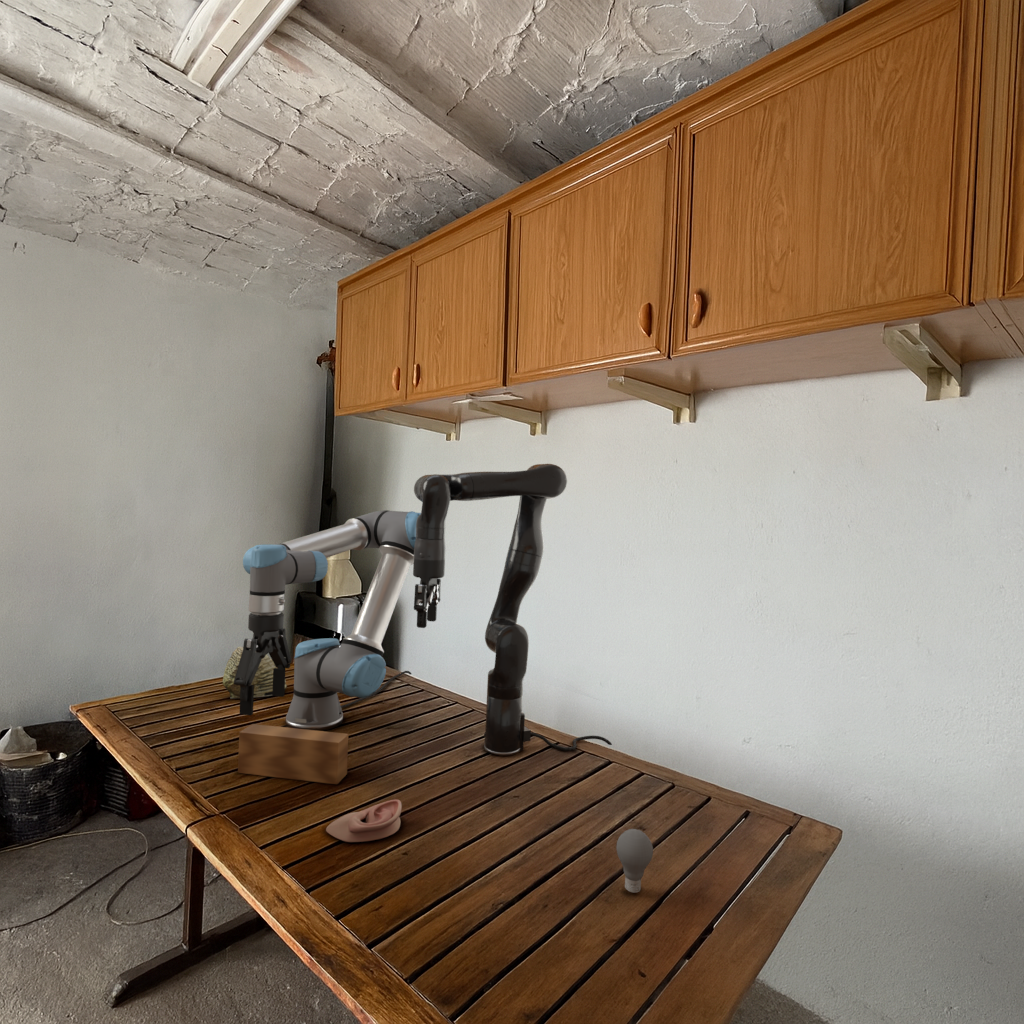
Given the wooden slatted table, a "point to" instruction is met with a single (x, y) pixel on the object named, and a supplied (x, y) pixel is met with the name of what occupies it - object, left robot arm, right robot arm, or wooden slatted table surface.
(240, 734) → the bar
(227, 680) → the fossil
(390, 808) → the anatomical model
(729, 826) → the wooden slatted table surface
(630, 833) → the light bulb
